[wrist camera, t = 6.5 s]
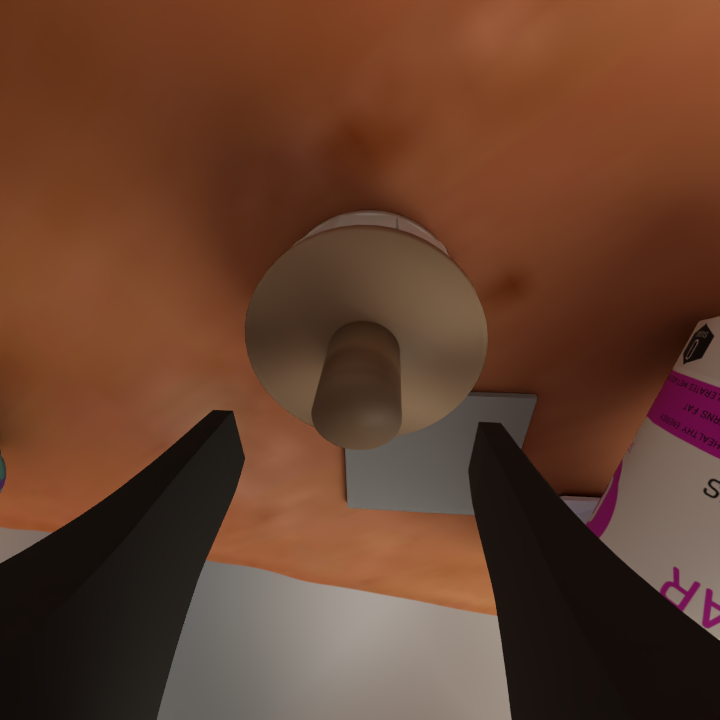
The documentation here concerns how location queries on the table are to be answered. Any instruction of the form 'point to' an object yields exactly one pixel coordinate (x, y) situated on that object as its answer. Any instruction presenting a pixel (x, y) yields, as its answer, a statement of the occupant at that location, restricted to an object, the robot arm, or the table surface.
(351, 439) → the lid
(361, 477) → the mat
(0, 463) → the pencil case
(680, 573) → the supplement can
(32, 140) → the table surface
